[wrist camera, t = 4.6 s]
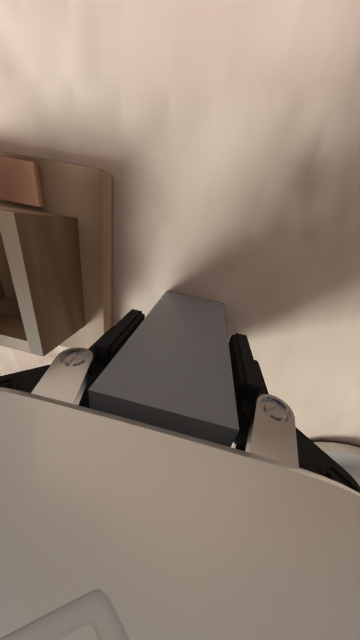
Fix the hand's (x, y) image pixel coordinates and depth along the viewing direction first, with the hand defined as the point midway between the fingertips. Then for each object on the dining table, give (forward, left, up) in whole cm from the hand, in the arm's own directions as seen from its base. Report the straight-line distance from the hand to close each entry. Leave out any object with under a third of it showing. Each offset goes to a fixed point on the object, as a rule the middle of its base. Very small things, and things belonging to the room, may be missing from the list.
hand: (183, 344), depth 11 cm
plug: (0, 0, -3) cm, 3 cm away
